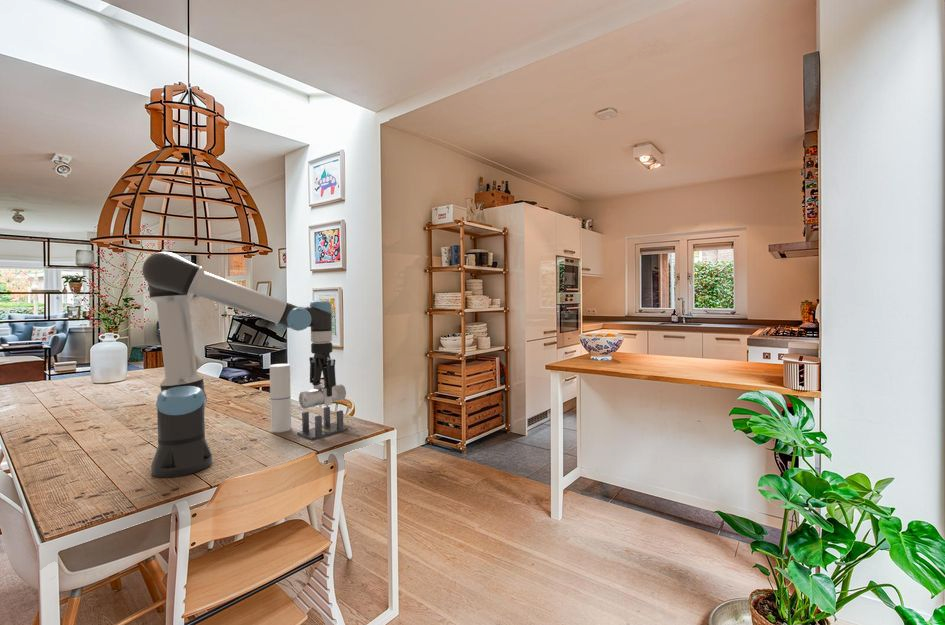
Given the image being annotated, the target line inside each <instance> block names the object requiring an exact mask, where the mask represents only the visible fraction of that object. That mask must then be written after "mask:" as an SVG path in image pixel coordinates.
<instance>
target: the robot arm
mask: <svg viewBox="0 0 945 625" xmlns="http://www.w3.org/2000/svg"><path fill="white" fill-rule="evenodd" d="M142 275H143V276H142V277H143V278H144V280H145V281H146V283H147V284H148V285H147V286H148V293H149V299H150V300H151V301H153V302H154V303H156V310H157V319H158V320H157V321H158V326H159V327H158V328H159V334H160V344H161V352H162V359H163V368H164V370H163V371H164V379H163V380H162V381H161V382H160V384H159V387H160V392H159V394H158V395H157V396H156V397H157V398H156V402H155V406H156V409H157V412H156V413H157V415H156V418H157V447H156V451H155V454H154V457H153V459H152V462H151V465H150V466H151V467H150V470H151V471H150V472H151V473H150V474H151V475H152V476H153V477H155V478H156V477H157V478H175V477H182V476H187V475H192V474H194V473H197V472H200V471H203V470H206V469H207V468H209V467H210V466H211V465H212V464H213V453H212V452H211V449H210V447H209V445H208V442H207V440H206V432H205V431H206V428H205V427H206V424H205V423H206V422H205V419H206V418H205V411H206V409H205V408H206V406H207V401H208V399H207V398H208V396H207V393H206V390H205V385H204V384H205V383H204V376H202V375H200V374H199V373H198V370H197V361H196V360H197V359H196V351H195V345H194V344H195V343H194V335H193V327H192V317H191V316H192V315H191V308H190V300H191V299H192V298H194V296H198V297H200V298H203V299H206V300H208V301H209V300H210V301H211V302H214V303H218V304H221V305H223V306H225V307H226V306H227V307H229V308H232V309H234V310H238V311H241V312H244V313H246V314H250V315H252V316H255V317H258V318H261V319H263V320H267V321H270V322H273V323H274V325H275V327H276V328H277V329H291V330H293V331H296V332H297V331H303V330H305V329H308V328H310V342H311V344H310V353H311V354H314V355H313V356H311V357H309V358H308V360H309V383H310V384H312V386H313V390H315V389H319V388H321V385H319V384H321V382H320V380H321V378H323V377H324V382H325V387H324V404H323V406H324V407H326V406H327V405H328V406H331V405H333V402H332V387H333V386H336V385H337V381H336V368H335V367H336V359H334V358H333V359H332V358H331V353H332V352H333V343H332V341H333V318H332V316H333V313H332V312H333V310H332V304H331V302H330V301H328V300H321V301H320V300H314V301H310V303H309V306H297V305H294V304H292V303H289V302H286V301H284V300H281V299H279V298H276V297H274V296H271V295H268V294H265V293H263V292H260V291H258V290H255V289H253V288H250V287H247V286H243V285H241V284H239V283H236V282H233V281H231V280H229V279H225V278H223V277H220V276H218V275H215V274H212V273H211V272H210V273H209V272H207V271H205V270H204V269H203V266H200V265H198V264H195V263H193V262H191V261H189V260H187V259H185V258H183V257H182V256H180V255H178V254H176V253H173V252H170V251H161V252H159V251H158V252H156V253H154V254H151V255H149V257H147V258H146V259H145V261H144V262H143V265H142ZM322 376H323V377H322Z"/></svg>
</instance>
